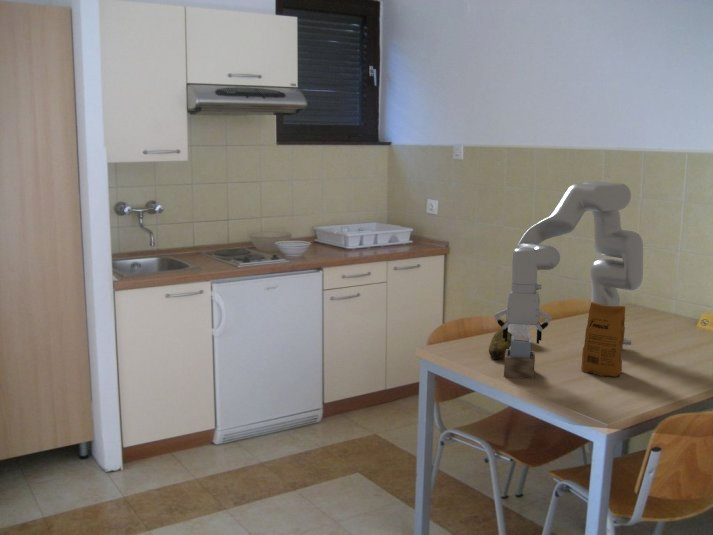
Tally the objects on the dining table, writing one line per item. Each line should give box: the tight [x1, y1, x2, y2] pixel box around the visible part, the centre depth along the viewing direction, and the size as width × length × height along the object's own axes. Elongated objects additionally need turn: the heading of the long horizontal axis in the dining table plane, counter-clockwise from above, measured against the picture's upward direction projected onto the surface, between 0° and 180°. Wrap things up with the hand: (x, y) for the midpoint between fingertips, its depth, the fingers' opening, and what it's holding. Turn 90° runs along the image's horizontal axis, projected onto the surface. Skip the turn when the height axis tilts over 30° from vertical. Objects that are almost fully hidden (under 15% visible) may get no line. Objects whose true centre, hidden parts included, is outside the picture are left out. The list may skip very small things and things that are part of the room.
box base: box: [503, 348, 536, 380], centre depth 232 cm, size 9×9×6 cm
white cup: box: [508, 324, 531, 337], centre depth 269 cm, size 8×8×10 cm
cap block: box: [509, 336, 532, 359], centre depth 232 cm, size 6×6×6 cm
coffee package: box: [580, 301, 626, 378], centre depth 234 cm, size 10×12×22 cm
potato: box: [488, 329, 512, 360], centre depth 251 cm, size 8×13×8 cm, turn 139°
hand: (521, 341), depth 232 cm, fingers open, 9 cm apart
